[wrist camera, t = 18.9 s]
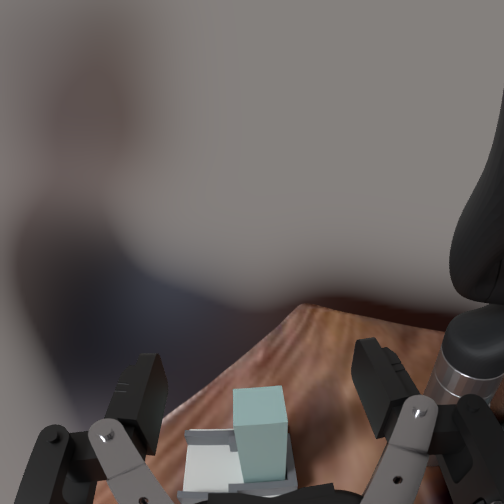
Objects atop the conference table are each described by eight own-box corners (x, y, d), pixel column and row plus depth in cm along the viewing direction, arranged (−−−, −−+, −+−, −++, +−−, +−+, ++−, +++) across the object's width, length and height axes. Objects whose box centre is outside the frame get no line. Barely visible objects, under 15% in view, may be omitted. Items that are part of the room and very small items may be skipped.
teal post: (280, 452, 35) (281, 385, 30) (284, 482, 31) (287, 421, 26) (243, 455, 35) (233, 389, 30) (244, 485, 31) (233, 425, 26)
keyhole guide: (286, 427, 40) (286, 415, 39) (299, 515, 26) (301, 507, 25) (190, 431, 40) (186, 419, 39) (181, 518, 26) (175, 511, 25)
